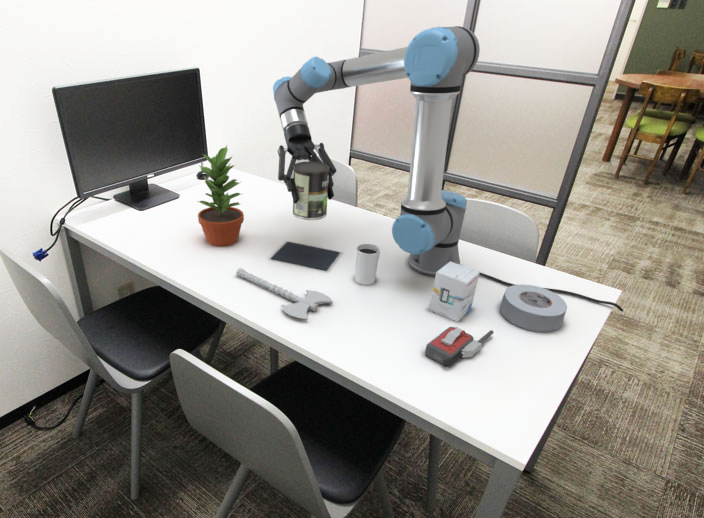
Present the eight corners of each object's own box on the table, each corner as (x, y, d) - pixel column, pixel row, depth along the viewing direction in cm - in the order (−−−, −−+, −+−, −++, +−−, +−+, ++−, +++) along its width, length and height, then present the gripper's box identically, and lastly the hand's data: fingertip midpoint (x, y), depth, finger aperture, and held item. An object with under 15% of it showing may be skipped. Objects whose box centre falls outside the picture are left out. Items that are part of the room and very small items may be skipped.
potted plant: (191, 246, 158) (182, 152, 142) (210, 228, 171) (204, 139, 155) (235, 253, 155) (231, 157, 140) (251, 234, 168) (249, 144, 152)
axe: (221, 284, 139) (220, 276, 138) (255, 267, 148) (255, 259, 147) (303, 325, 123) (303, 317, 122) (336, 303, 132) (337, 296, 131)
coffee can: (329, 209, 150) (332, 163, 143) (323, 222, 142) (326, 173, 134) (296, 205, 152) (297, 159, 144) (288, 218, 143) (289, 170, 136)
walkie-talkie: (453, 374, 109) (495, 337, 121) (457, 359, 107) (499, 323, 119) (419, 356, 114) (462, 322, 127) (422, 341, 112) (466, 308, 124)
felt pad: (339, 253, 158) (339, 252, 158) (326, 270, 148) (326, 269, 147) (287, 242, 163) (287, 241, 163) (271, 259, 153) (271, 257, 153)
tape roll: (570, 316, 131) (577, 300, 128) (546, 339, 122) (552, 322, 119) (515, 294, 140) (520, 278, 137) (488, 313, 131) (493, 297, 128)
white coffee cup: (379, 278, 145) (384, 247, 140) (370, 288, 140) (374, 256, 135) (359, 272, 148) (362, 241, 142) (349, 281, 143) (352, 250, 137)
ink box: (442, 297, 137) (450, 260, 131) (471, 309, 132) (481, 270, 126) (427, 310, 131) (435, 271, 125) (457, 322, 127) (467, 283, 120)
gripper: (326, 134, 153) (345, 201, 149) (256, 138, 145) (273, 209, 141) (335, 120, 146) (354, 189, 142) (261, 124, 138) (280, 197, 134)
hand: (314, 199), depth 141 cm, fingers closed on coffee can, 10 cm apart
